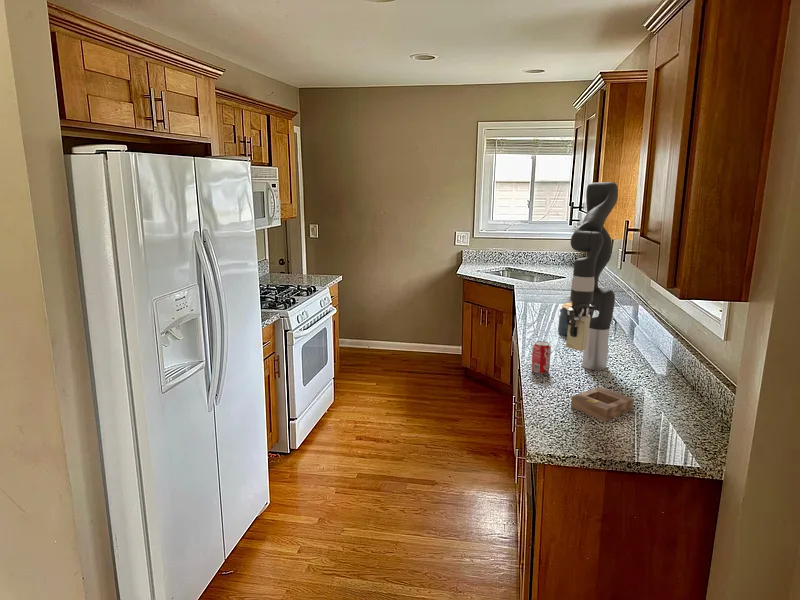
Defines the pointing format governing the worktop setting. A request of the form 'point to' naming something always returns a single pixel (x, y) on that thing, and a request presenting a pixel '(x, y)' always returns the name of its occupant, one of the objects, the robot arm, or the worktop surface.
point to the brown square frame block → (602, 403)
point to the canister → (563, 319)
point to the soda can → (541, 357)
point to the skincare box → (579, 334)
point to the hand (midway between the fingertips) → (577, 335)
